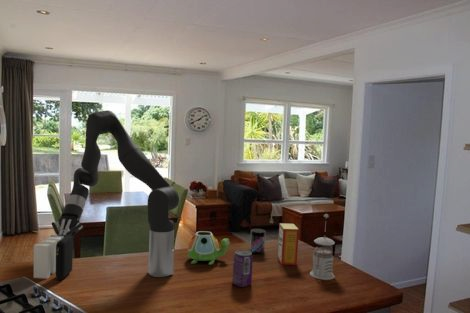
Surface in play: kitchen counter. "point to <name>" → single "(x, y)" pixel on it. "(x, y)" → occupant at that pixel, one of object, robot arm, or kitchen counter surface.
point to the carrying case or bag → (64, 257)
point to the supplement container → (257, 241)
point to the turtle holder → (206, 247)
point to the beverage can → (242, 268)
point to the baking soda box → (288, 244)
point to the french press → (323, 259)
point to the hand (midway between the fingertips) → (59, 245)
